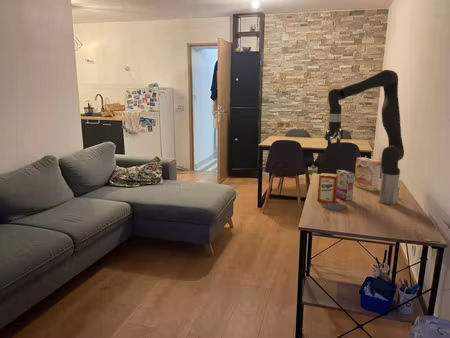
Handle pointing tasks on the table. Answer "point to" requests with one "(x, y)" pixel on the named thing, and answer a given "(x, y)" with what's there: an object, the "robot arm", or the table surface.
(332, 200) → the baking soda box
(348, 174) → the candy bar box
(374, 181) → the coffeecake box
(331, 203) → the slate coaster
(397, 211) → the table surface
